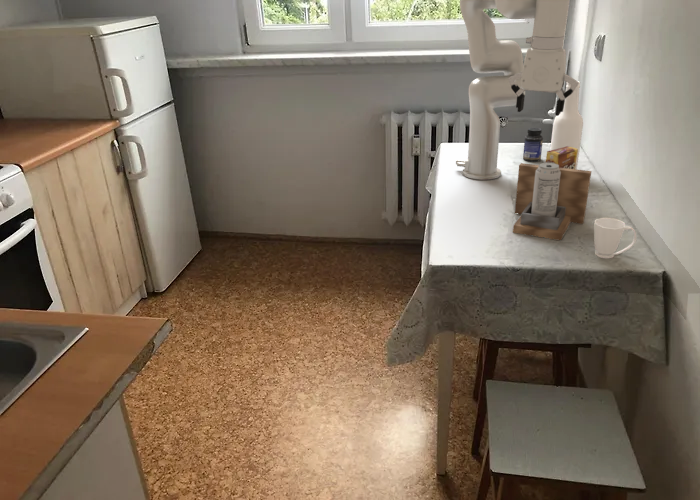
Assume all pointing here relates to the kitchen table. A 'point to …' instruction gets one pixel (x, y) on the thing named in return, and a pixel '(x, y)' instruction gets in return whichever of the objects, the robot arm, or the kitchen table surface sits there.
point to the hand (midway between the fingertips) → (538, 112)
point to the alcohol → (568, 124)
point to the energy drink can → (546, 189)
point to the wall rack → (568, 203)
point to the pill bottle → (533, 145)
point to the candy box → (563, 157)
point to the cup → (609, 237)
